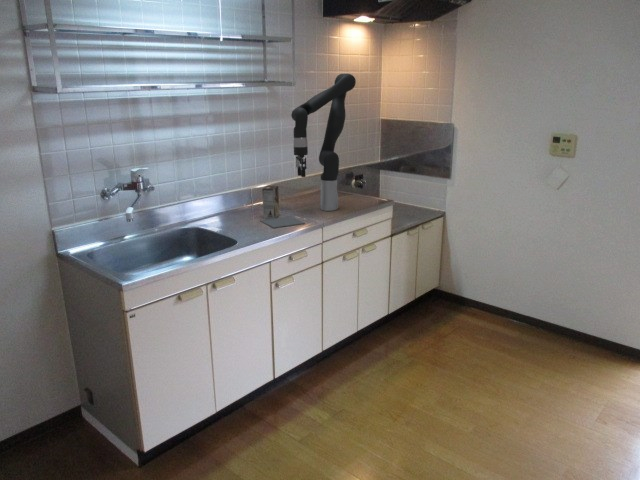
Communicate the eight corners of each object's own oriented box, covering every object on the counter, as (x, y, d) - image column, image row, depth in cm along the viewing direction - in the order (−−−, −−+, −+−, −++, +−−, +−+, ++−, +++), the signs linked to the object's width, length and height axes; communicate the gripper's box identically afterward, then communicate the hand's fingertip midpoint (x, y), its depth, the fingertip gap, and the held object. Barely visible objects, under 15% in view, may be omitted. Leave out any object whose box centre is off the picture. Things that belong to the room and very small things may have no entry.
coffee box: (267, 214, 289) (267, 185, 284) (279, 215, 288) (278, 186, 283) (262, 218, 280) (262, 188, 276) (274, 219, 279) (273, 189, 274)
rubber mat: (291, 217, 283) (291, 216, 283) (305, 224, 270) (305, 222, 270) (260, 221, 275) (260, 220, 275) (273, 228, 261) (273, 227, 261)
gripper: (310, 146, 277) (311, 177, 281) (304, 145, 291) (305, 174, 294) (296, 147, 275) (297, 178, 279) (290, 145, 289) (292, 175, 292)
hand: (301, 176), depth 287 cm, fingers open, 8 cm apart
